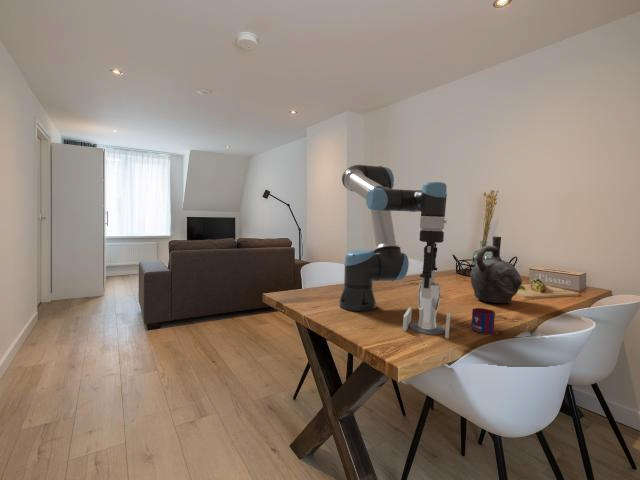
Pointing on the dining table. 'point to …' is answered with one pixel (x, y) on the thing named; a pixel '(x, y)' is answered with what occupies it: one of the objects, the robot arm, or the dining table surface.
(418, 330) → the slate coaster
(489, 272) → the vessel
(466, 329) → the dining table surface
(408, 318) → the low walls
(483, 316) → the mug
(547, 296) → the cutting board
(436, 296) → the beer glass
